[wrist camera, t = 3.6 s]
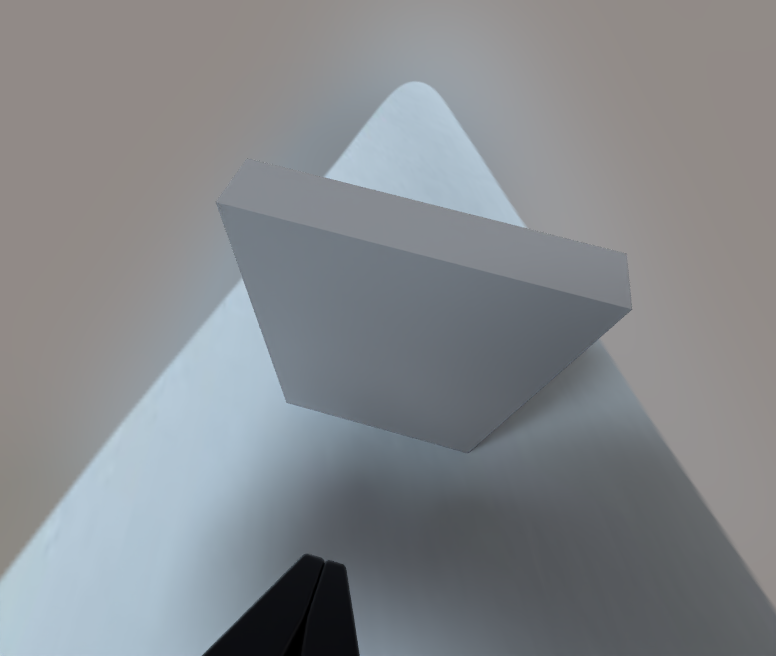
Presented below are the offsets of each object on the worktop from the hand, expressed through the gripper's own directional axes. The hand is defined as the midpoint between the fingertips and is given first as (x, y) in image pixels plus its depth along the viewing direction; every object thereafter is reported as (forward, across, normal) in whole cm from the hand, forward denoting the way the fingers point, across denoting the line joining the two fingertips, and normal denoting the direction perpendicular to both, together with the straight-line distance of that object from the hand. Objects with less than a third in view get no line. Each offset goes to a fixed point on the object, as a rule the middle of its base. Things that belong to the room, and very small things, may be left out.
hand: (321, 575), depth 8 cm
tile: (+10, 0, +1) cm, 10 cm away
